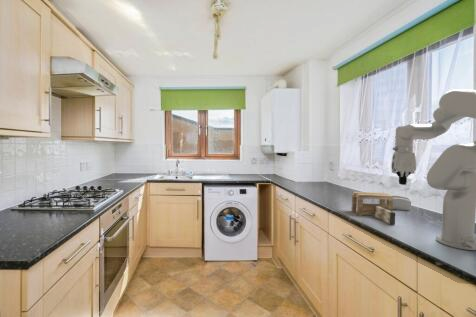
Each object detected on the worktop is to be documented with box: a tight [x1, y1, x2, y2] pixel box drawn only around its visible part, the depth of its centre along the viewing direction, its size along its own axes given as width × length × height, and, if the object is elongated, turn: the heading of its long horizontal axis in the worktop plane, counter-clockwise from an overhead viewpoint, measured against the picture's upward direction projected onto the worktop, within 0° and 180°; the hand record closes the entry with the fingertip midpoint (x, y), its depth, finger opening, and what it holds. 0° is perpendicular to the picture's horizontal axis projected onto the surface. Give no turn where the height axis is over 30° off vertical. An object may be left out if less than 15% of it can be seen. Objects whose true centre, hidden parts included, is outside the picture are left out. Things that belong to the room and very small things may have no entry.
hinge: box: [385, 195, 412, 211], centre depth 147 cm, size 17×5×10 cm, turn 76°
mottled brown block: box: [374, 206, 396, 226], centre depth 121 cm, size 14×2×6 cm, turn 1°
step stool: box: [351, 191, 394, 217], centre depth 134 cm, size 10×18×12 cm, turn 84°
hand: (402, 184), depth 121 cm, fingers closed
